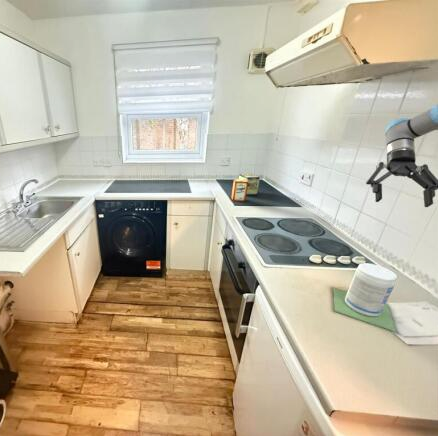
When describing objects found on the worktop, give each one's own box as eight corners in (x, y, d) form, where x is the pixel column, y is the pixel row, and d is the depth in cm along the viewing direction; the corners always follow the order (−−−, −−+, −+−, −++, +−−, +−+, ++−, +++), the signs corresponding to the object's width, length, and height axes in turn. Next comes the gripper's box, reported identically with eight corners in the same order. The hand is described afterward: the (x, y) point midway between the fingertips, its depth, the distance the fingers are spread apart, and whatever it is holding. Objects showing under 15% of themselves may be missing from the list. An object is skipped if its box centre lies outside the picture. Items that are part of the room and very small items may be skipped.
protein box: (245, 196, 197) (248, 177, 191) (236, 190, 212) (239, 173, 205) (257, 195, 198) (260, 177, 192) (248, 190, 212) (250, 173, 206)
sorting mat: (386, 304, 82) (387, 303, 82) (395, 332, 72) (396, 331, 72) (333, 288, 90) (333, 287, 90) (334, 311, 80) (335, 310, 79)
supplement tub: (384, 322, 75) (403, 284, 69) (346, 311, 79) (362, 274, 73) (375, 302, 83) (392, 267, 77) (341, 293, 87) (355, 259, 81)
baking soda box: (243, 198, 190) (246, 179, 184) (245, 201, 184) (248, 181, 178) (231, 198, 192) (233, 178, 185) (232, 200, 186) (235, 180, 179)
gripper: (437, 162, 90) (442, 212, 84) (355, 158, 100) (355, 202, 93) (453, 149, 84) (461, 202, 77) (364, 146, 93) (364, 193, 87)
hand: (403, 202), depth 85 cm, fingers open, 13 cm apart
